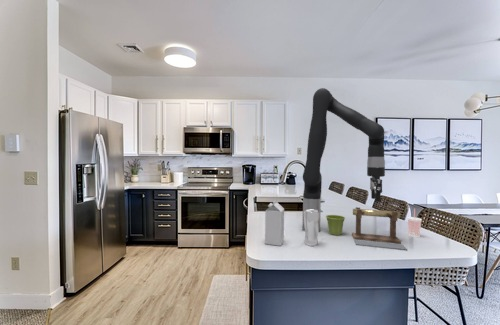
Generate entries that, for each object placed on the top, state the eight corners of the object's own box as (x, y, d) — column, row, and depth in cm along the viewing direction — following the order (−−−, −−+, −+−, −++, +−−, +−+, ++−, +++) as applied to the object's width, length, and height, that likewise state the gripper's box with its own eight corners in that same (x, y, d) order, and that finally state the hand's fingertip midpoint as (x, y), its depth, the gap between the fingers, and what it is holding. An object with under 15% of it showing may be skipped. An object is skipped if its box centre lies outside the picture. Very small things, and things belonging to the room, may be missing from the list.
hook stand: (353, 239, 114) (353, 209, 114) (351, 234, 121) (352, 206, 120) (401, 243, 108) (401, 212, 108) (396, 239, 115) (397, 209, 115)
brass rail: (353, 215, 116) (353, 209, 116) (352, 214, 119) (352, 208, 119) (400, 218, 110) (400, 212, 110) (398, 217, 113) (398, 211, 113)
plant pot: (321, 231, 125) (322, 215, 125) (336, 230, 128) (336, 214, 128) (333, 237, 116) (334, 219, 116) (349, 235, 120) (349, 218, 120)
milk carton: (283, 241, 110) (284, 200, 110) (280, 246, 103) (281, 202, 103) (268, 239, 112) (269, 199, 112) (264, 244, 105) (265, 201, 105)
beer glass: (310, 247, 102) (311, 212, 102) (300, 242, 108) (300, 209, 108) (322, 245, 105) (323, 211, 105) (311, 240, 111) (312, 208, 111)
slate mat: (355, 245, 106) (355, 243, 106) (354, 240, 111) (354, 239, 111) (407, 250, 100) (407, 249, 100) (402, 245, 106) (402, 244, 106)
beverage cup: (415, 238, 116) (415, 209, 116) (403, 234, 122) (404, 207, 122) (424, 237, 118) (425, 209, 118) (413, 233, 124) (413, 207, 124)
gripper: (364, 166, 122) (364, 197, 122) (370, 166, 108) (369, 202, 108) (381, 166, 120) (381, 198, 120) (388, 166, 106) (388, 202, 106)
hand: (375, 200), depth 114 cm, fingers open, 8 cm apart
